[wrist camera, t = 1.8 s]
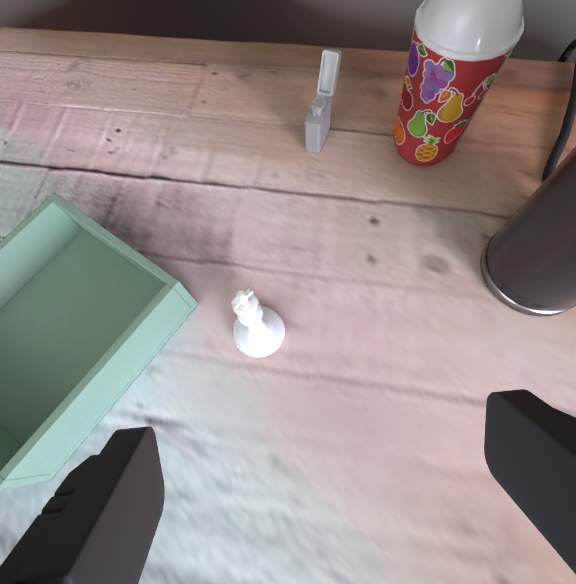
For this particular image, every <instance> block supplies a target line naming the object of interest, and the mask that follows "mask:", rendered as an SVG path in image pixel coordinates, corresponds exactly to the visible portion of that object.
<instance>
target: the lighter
mask: <svg viewBox="0 0 576 584" xmlns="http://www.w3.org/2000/svg"><path fill="white" fill-rule="evenodd" d="M341 56H342V52H341V50H335V49H330V48H327V49H326V50H324V51H323V53H322V60H321V67H320V74H319V81H318V88H317V93H318V94H317V95H316V96H315V98H314V100H313V103H312V105H311V108H310V110H309V112H308V114H307V116H306V118H305V150H306V151H308V152H312V153H316V154H318V153H320V151H321V148H322V146H323V144H324V141H325V139H326V137H327V134H328V132H329V130H330V115H331V96H332V95H333V94H334V93H335V91H336V85H337V79H338V73H339V68H340V62H341Z"/></svg>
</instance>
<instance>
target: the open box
mask: <svg viewBox="0 0 576 584" xmlns="http://www.w3.org/2000/svg"><path fill="white" fill-rule="evenodd" d="M197 305H198V303H197V301H196V300H195V299H194V298H193V297H192V296H191V294H190V293H189V292H188V291H187V290H186V289H185V287H184V286H183V285H182V284H181V283H180V281H179V280H177V279H176V278H174V277H173V276H171V275H170V274H169V273H167V272H166V271H164V270H163V269H162V268H160V267H159V266H157V265H156V264H155V263H153V262H152V261H150V260H149V259H148V258H146V257H145V256H143V255H142V254H140V253H139V252H138V251H136V250H135V249H133V248H132V247H131V246H129V245H128V244H126V243H125V242H124V241H122V240H121V239H119V238H118V237H117V236H115V235H114V234H112V233H111V232H110V231H108V230H107V229H105V228H104V227H102V226H101V225H100V224H98V223H97V222H95V221H94V220H93V219H91V218H90V217H88V216H87V215H86V214H84V213H83V212H81V211H80V210H79V209H77V208H76V207H74V206H73V205H71V204H70V203H69V202H67V201H66V200H64V199H63V198H62V197H60V196H59V195H57V194H56V193H53V194H52V195H51V196H50V197H49V198H47V199H46V200H45V201H44V202H43V203H42V204H41V205H40V206H39V207H38V208H37V209H35V210H34V211H33V212H32V213H31V214H30V215H29V216H28V217H27V218H26V219H25V220H24V221H22V222H21V223H20V224H19V225H18V226H17V227H16V228H15V229H14V230H13V231H12V232H11V233H9V234H8V235H7V236H6V237H5V238H4V239H3V240H2V241H1V242H0V489H6V488H12V487H18V486H24V485H30V484H36V483H42V482H49V481H50V480H51V479H52V478H53V477H54V476H55V474H56V473H57V472H58V471H59V470H60V468H61V467H62V466H63V465H64V464H65V463H66V461H67V460H68V459H69V458H70V457H71V455H72V454H73V453H74V452H75V451H76V449H77V448H78V447H79V446H80V445H81V443H82V442H83V441H84V440H85V439H86V437H87V436H88V435H89V434H90V433H91V432H92V430H93V429H94V428H95V427H96V426H97V424H98V423H99V422H100V421H101V420H102V418H103V417H104V416H105V415H106V414H107V412H108V411H109V410H110V409H111V408H112V406H113V405H114V404H115V403H116V402H117V401H118V399H119V398H120V397H121V396H122V395H123V393H124V392H125V391H126V390H127V389H128V387H129V386H130V385H131V384H132V383H133V381H134V380H135V379H136V378H137V377H138V375H139V374H140V373H141V372H142V371H143V370H144V368H145V367H146V366H147V365H148V364H149V362H150V361H151V360H152V359H153V358H154V356H155V355H156V354H157V353H158V352H159V350H160V349H161V348H162V347H163V346H164V344H165V343H166V342H167V341H168V340H169V339H170V337H171V336H172V335H173V334H174V333H175V331H176V330H177V329H178V328H179V327H180V325H181V324H182V323H183V322H184V321H185V319H186V318H187V317H188V316H189V315H190V313H191V312H192V311H193V310H194V309H195V308H196V306H197Z"/></svg>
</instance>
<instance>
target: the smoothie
mask: <svg viewBox="0 0 576 584" xmlns="http://www.w3.org/2000/svg"><path fill="white" fill-rule="evenodd" d="M523 32H524V19H523V0H424V2H423V3H422V4H421V5H420V7H419V8H418V10H417V11H416V16H415V23H414V30H413V35H412V40H411V45H410V51H409V56H408V61H407V67H406V72H405V77H404V83H403V88H402V93H401V99H400V104H399V109H398V115H397V120H396V125H395V130H394V141H395V144H396V147H397V150H398V153H399V154H400V155H401V157H402V158H403V159H405V160H406V161H408V162H410V163H412V164H415V165H421V166H427V165H433V164H435V163H437V162H439V161H441V160H442V159H443V158H445V157H447V156H448V155H449V154H450V153H452V152H453V150H454V148H455V147H456V145H457V143H458V142H459V140H460V138H461V137H462V135H463V133H464V131H465V130H466V128H467V126H468V125H469V123H470V121H471V120H472V118H473V116H474V114H475V113H476V111H477V109H478V108H479V106H480V104H481V103H482V101H483V99H484V97H485V96H486V94H487V92H488V91H489V89H490V87H491V85H492V84H493V82H494V80H495V79H496V77H497V75H498V74H499V72H500V70H501V68H502V67H503V65H504V63H505V62H506V60H507V58H508V57H509V55H510V53H511V51H512V49H513V47H514V46H515V45H516V44H517V42H518V41H519V39H520V37H521V35H522V33H523Z"/></svg>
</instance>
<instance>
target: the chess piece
mask: <svg viewBox="0 0 576 584" xmlns="http://www.w3.org/2000/svg"><path fill="white" fill-rule="evenodd" d="M231 303H232V308H233V310H234V312H235V313H236V314H237V317H238V318H237V319H236V321H235V324H234V328H233V336H234V340H235V343H236V345H237V347H238V348H239V349H240V350H241V351H242V352H243V353H245V354H247V355H249V356H252V357H264V356H267V355H270V354H272V353H273V352H275V351H276V350H277V349H278V348H279V347H280V345H281V344H282V342H283V339H284V335H285V327H284V323H283V321H282V319H281V317H280V316H279V315H278V314H277V313H276V312H275V311H274V310H272V309H271V308H268V307H265V306H260V304H258V298H257V297H256V295H255V294H254V293H253V291H252V290H251V289H250V288H249V287H248V288H247V289H246V290H245V291H242V290H239V291H238V292H237V293H236V296H235V297H234V298H233V301H232V302H231Z"/></svg>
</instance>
